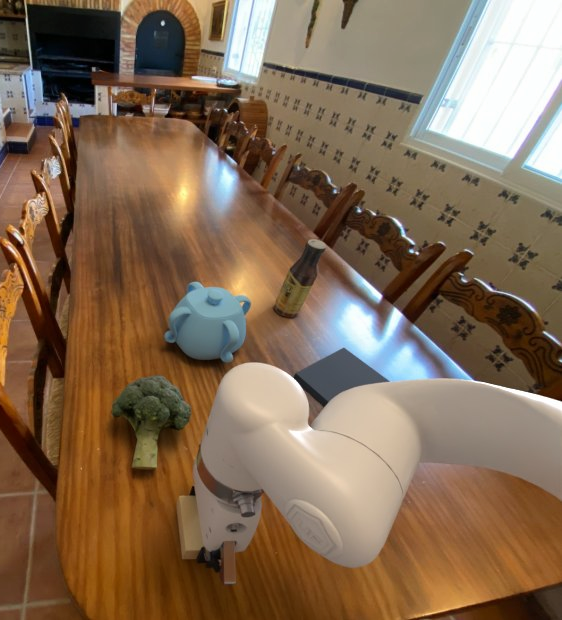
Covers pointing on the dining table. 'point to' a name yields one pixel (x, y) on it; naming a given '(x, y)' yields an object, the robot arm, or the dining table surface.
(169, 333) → the decorative pot
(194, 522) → the pad
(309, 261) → the sauce bottle
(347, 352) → the u-shaped block
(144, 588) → the dining table surface
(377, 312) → the dining table surface
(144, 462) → the vegetable
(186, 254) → the dining table surface
